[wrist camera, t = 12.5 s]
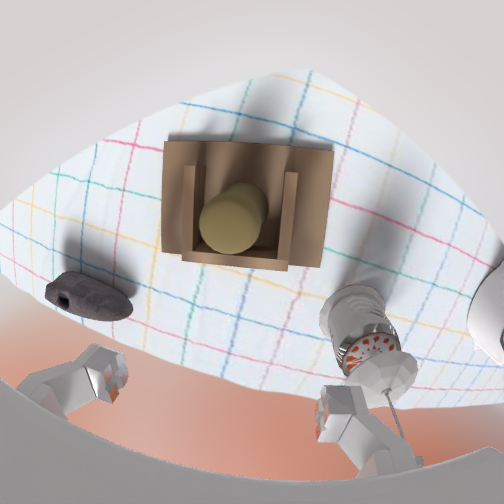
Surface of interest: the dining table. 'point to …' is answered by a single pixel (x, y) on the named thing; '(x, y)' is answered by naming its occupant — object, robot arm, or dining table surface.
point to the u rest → (265, 178)
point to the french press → (368, 347)
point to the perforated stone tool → (88, 297)
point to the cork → (234, 218)
